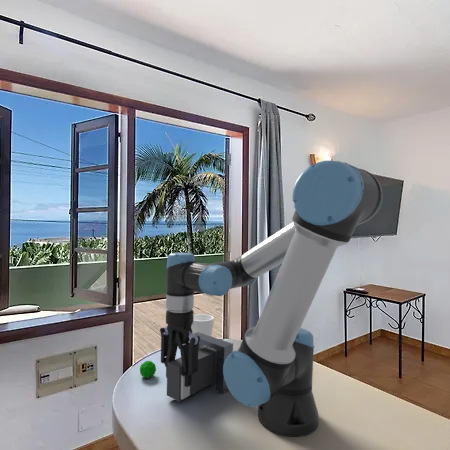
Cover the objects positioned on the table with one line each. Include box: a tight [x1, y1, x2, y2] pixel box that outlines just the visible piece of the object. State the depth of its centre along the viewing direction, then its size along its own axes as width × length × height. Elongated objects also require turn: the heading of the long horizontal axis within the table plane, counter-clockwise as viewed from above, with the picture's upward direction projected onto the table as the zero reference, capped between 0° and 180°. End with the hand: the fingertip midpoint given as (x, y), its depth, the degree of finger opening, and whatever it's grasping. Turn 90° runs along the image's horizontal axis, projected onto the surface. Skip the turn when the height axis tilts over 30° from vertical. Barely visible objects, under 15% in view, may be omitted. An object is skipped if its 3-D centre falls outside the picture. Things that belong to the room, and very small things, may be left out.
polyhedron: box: [139, 360, 157, 379], centre depth 107 cm, size 5×5×5 cm
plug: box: [166, 346, 216, 402], centre depth 101 cm, size 6×22×9 cm, turn 141°
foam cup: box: [191, 313, 215, 347], centre depth 129 cm, size 10×9×13 cm
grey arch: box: [193, 332, 234, 395], centre depth 104 cm, size 14×4×14 cm, turn 50°
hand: (178, 393), depth 94 cm, fingers closed on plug, 5 cm apart
